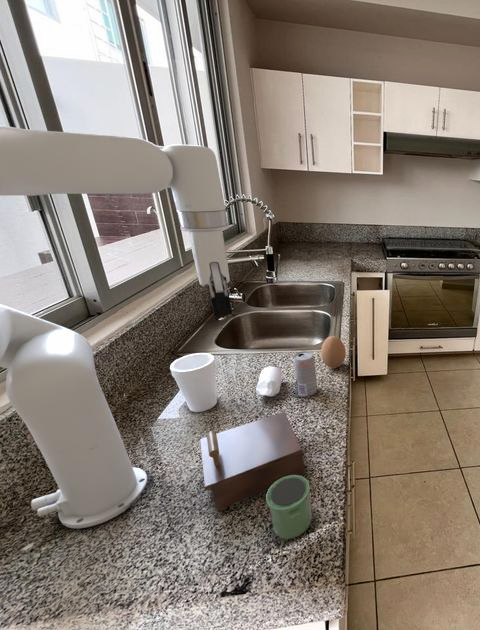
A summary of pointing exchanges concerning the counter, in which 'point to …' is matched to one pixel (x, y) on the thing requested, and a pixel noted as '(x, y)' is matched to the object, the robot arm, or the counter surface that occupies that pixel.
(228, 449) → the lid
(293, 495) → the pot
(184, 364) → the foam cup
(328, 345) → the egg
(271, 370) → the roll
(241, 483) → the chest
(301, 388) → the energy drink
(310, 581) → the counter surface
